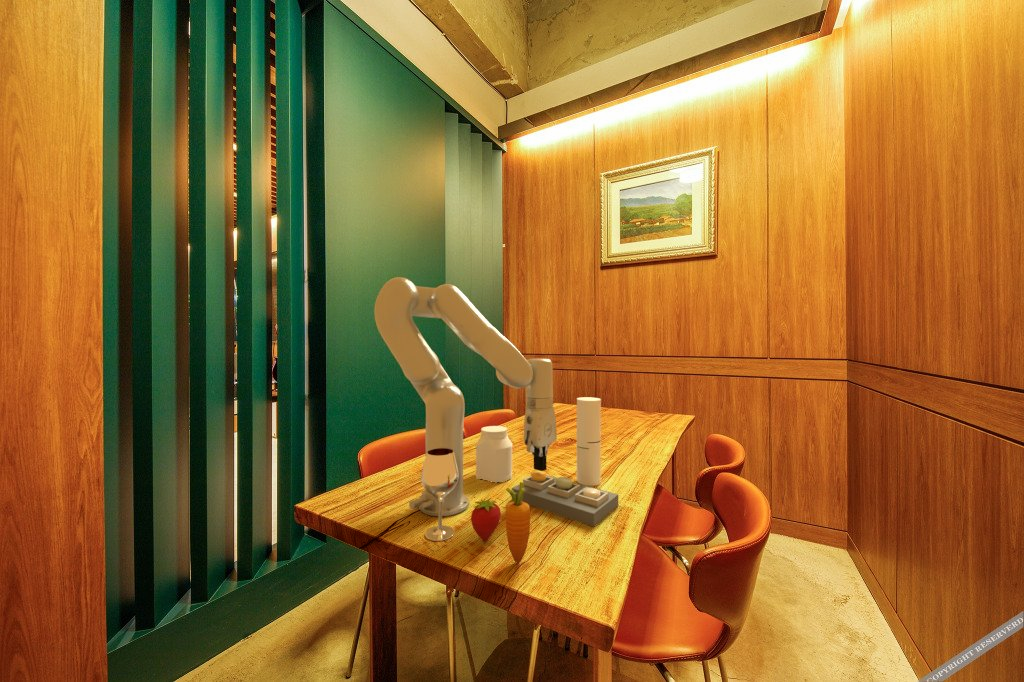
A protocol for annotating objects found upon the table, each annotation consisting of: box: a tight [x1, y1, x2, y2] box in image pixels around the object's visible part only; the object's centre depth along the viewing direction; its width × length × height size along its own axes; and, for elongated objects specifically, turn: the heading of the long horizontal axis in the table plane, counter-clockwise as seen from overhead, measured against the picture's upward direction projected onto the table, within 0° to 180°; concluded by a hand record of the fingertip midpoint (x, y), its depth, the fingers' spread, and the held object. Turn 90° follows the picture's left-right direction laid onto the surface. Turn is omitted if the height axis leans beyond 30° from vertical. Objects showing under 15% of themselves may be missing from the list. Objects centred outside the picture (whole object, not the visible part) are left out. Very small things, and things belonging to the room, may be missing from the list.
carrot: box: [505, 481, 531, 564], centre depth 71 cm, size 5×5×15 cm
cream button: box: [583, 487, 600, 499], centre depth 93 cm, size 4×4×2 cm
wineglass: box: [420, 448, 459, 542], centre depth 82 cm, size 8×8×18 cm
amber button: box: [530, 470, 547, 482], centre depth 103 cm, size 4×4×2 cm
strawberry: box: [470, 494, 502, 543], centre depth 79 cm, size 6×8×10 cm
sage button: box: [555, 476, 573, 489], centre depth 98 cm, size 4×4×2 cm
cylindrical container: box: [576, 396, 602, 487], centre depth 114 cm, size 7×7×25 cm
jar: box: [475, 425, 513, 484], centre depth 118 cm, size 12×10×15 cm
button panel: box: [511, 474, 619, 528], centre depth 98 cm, size 14×24×4 cm, turn 52°
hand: (540, 469), depth 103 cm, fingers closed
